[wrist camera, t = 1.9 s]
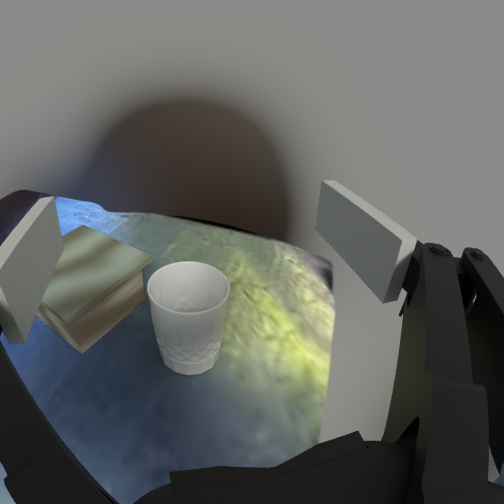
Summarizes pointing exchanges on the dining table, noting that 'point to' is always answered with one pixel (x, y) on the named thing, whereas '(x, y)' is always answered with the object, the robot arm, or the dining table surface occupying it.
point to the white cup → (189, 314)
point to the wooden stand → (92, 287)
